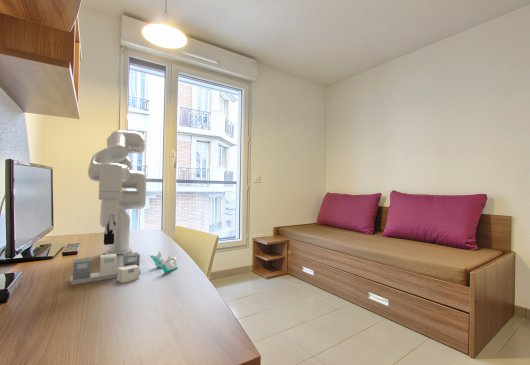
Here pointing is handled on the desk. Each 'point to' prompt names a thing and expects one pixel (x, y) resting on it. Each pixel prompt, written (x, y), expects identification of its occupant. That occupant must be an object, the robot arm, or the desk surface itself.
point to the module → (108, 264)
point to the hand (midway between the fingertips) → (108, 243)
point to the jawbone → (164, 262)
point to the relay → (128, 273)
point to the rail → (84, 268)
